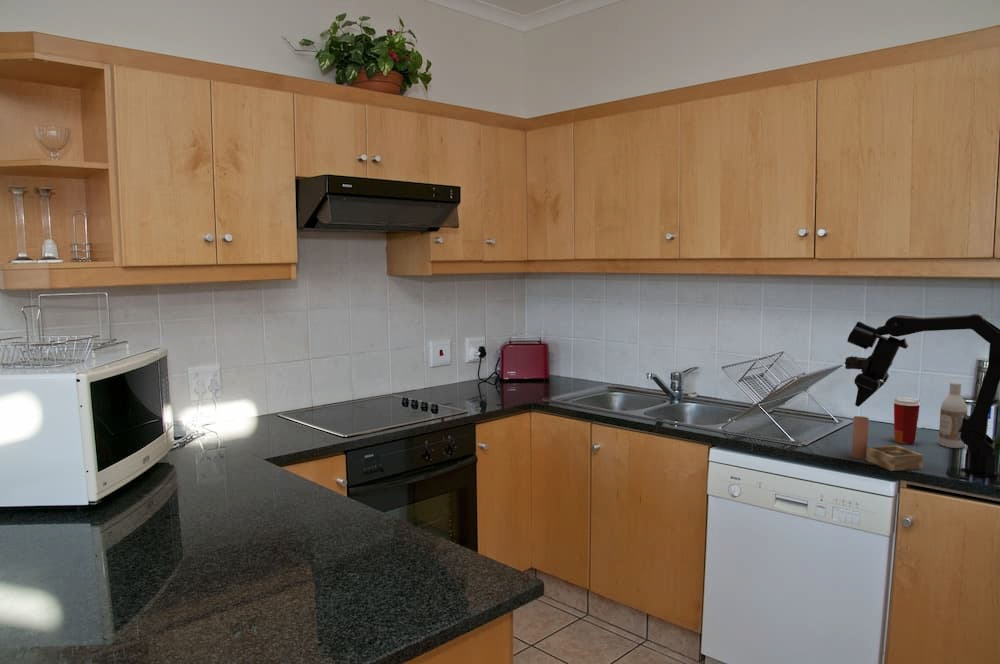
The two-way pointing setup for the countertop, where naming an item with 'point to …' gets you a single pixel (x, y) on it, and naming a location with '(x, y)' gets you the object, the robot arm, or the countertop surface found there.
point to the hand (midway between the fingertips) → (859, 403)
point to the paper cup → (905, 419)
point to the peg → (860, 437)
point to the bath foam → (952, 417)
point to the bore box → (894, 458)
